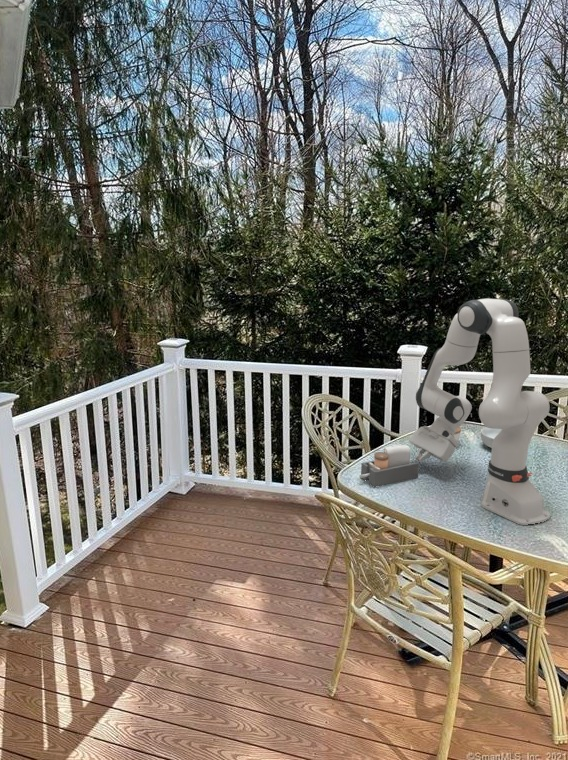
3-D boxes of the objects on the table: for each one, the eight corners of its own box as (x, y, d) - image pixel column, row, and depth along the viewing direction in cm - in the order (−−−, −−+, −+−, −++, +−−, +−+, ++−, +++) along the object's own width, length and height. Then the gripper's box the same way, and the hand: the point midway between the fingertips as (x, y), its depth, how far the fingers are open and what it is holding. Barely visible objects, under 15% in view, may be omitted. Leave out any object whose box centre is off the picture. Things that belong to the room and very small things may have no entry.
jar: (390, 480, 200) (391, 455, 197) (379, 483, 198) (379, 458, 195) (382, 475, 204) (382, 451, 202) (370, 478, 202) (371, 453, 199)
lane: (417, 477, 202) (418, 463, 201) (374, 487, 195) (374, 472, 193) (403, 468, 210) (404, 454, 209) (360, 477, 202) (361, 463, 201)
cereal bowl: (471, 444, 235) (472, 429, 233) (499, 438, 241) (500, 423, 240) (501, 458, 220) (502, 442, 218) (530, 451, 227) (532, 436, 225)
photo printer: (385, 479, 201) (386, 448, 198) (381, 474, 205) (382, 444, 202) (410, 476, 203) (412, 446, 200) (406, 471, 207) (408, 442, 204)
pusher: (379, 483, 197) (380, 468, 195) (364, 487, 194) (365, 472, 193) (370, 476, 203) (370, 462, 201) (355, 480, 200) (356, 465, 198)
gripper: (419, 420, 215) (397, 446, 214) (454, 436, 197) (431, 465, 196) (427, 428, 218) (406, 455, 217) (462, 446, 200) (440, 474, 199)
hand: (418, 460), depth 206 cm, fingers closed
